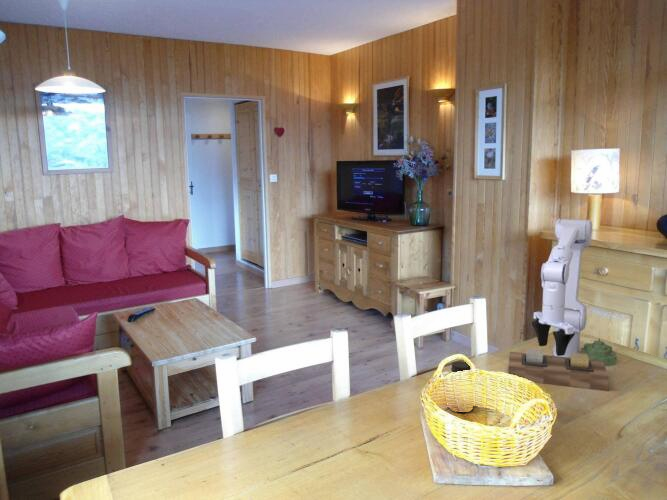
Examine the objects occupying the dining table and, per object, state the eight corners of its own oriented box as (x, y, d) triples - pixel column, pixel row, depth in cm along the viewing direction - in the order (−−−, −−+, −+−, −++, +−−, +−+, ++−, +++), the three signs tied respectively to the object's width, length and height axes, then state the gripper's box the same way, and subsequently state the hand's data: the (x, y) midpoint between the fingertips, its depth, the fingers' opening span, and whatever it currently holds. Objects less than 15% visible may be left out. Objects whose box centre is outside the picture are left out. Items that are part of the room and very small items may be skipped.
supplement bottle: (476, 413, 133) (477, 369, 131) (449, 414, 134) (450, 370, 131) (470, 401, 140) (471, 358, 138) (444, 401, 140) (445, 359, 138)
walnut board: (509, 363, 163) (509, 350, 163) (602, 373, 154) (603, 359, 154) (507, 379, 152) (508, 365, 152) (607, 391, 143) (608, 375, 143)
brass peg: (569, 366, 154) (570, 352, 153) (586, 367, 152) (587, 354, 151) (570, 372, 149) (571, 358, 149) (587, 374, 148) (588, 359, 147)
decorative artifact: (590, 351, 171) (574, 359, 165) (591, 331, 170) (575, 338, 164) (621, 360, 164) (606, 369, 158) (623, 339, 162) (607, 347, 156)
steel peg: (525, 361, 158) (526, 348, 157) (541, 363, 156) (542, 349, 155) (525, 367, 154) (526, 353, 153) (542, 369, 152) (542, 355, 151)
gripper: (525, 298, 152) (523, 343, 154) (558, 313, 138) (556, 361, 140) (546, 296, 153) (544, 340, 156) (581, 310, 140) (578, 358, 142)
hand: (551, 350), depth 148 cm, fingers open, 7 cm apart
